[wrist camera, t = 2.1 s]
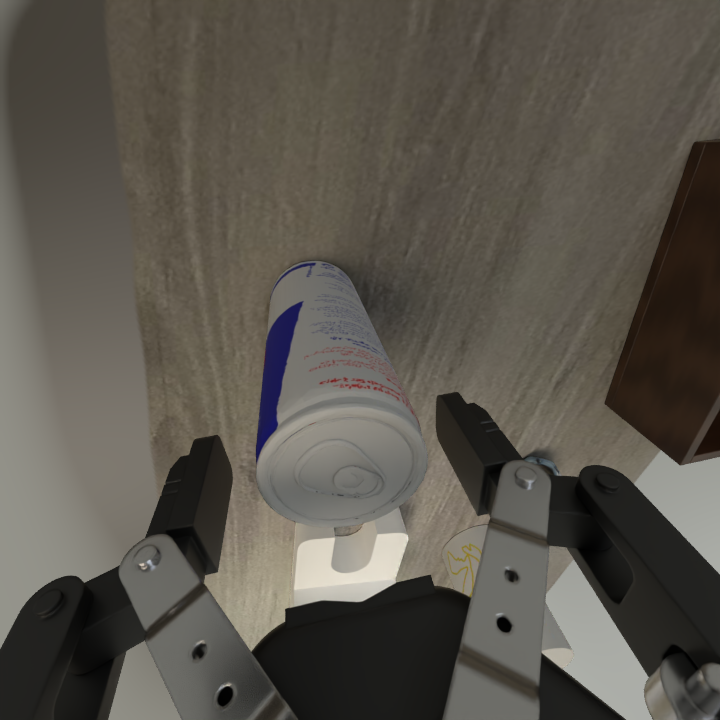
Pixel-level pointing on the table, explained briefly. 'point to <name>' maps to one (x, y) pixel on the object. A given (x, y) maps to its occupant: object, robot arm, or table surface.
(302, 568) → the bracket
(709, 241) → the caddy
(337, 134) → the table surface
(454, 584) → the cup
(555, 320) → the table surface
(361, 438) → the beverage can
